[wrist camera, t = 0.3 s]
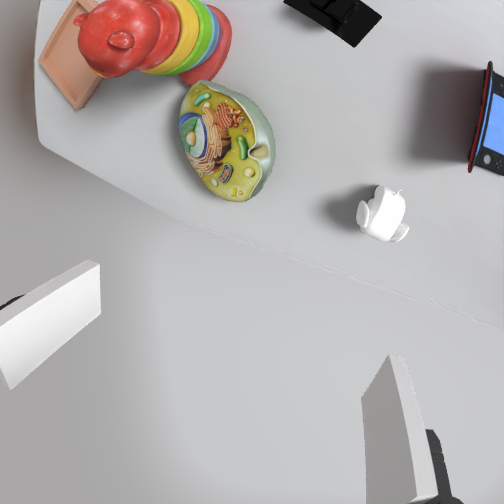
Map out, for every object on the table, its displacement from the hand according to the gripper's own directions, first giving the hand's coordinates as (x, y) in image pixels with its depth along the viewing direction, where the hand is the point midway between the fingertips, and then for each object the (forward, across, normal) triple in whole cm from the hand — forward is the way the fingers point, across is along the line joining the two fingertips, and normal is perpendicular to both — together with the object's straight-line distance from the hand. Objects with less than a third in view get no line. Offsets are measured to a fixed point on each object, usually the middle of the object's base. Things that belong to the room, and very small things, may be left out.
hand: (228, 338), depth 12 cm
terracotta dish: (+22, -34, +19) cm, 45 cm away
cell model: (+27, -9, +8) cm, 29 cm away
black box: (+21, 0, +26) cm, 33 cm away
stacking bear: (+23, -15, +19) cm, 34 cm away
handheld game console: (+23, +21, +20) cm, 37 cm away
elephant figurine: (+28, +11, +5) cm, 30 cm away
